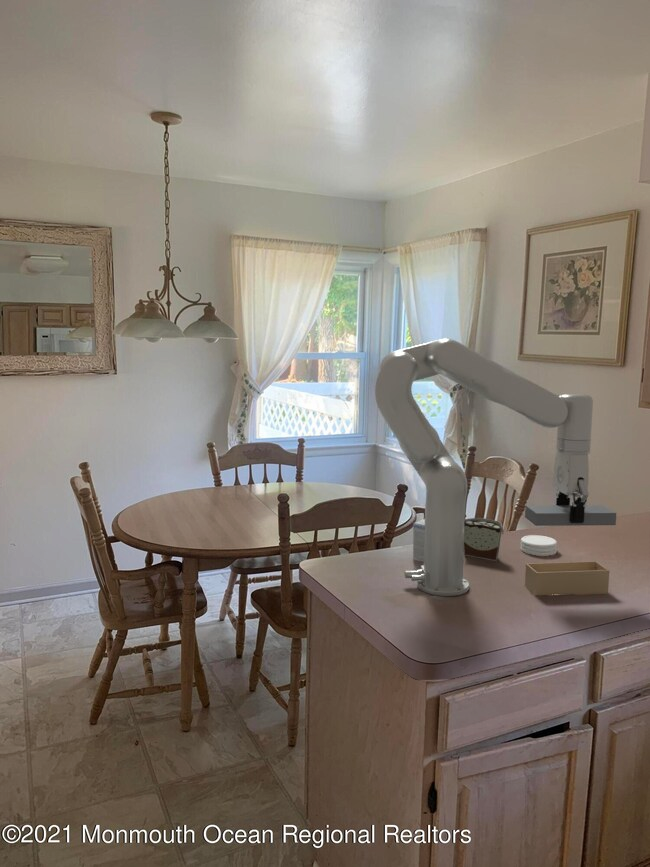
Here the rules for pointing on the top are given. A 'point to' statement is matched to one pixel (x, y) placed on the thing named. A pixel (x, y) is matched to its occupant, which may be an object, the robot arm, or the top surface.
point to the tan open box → (567, 578)
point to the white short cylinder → (538, 545)
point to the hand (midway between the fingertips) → (569, 517)
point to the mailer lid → (568, 515)
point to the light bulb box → (418, 540)
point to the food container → (482, 538)
